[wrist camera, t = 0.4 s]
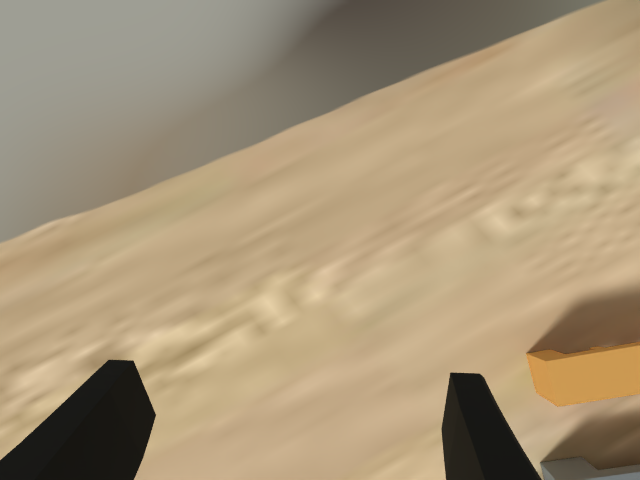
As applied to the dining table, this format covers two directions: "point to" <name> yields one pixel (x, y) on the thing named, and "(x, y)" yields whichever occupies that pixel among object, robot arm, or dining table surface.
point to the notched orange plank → (586, 374)
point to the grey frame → (586, 471)
